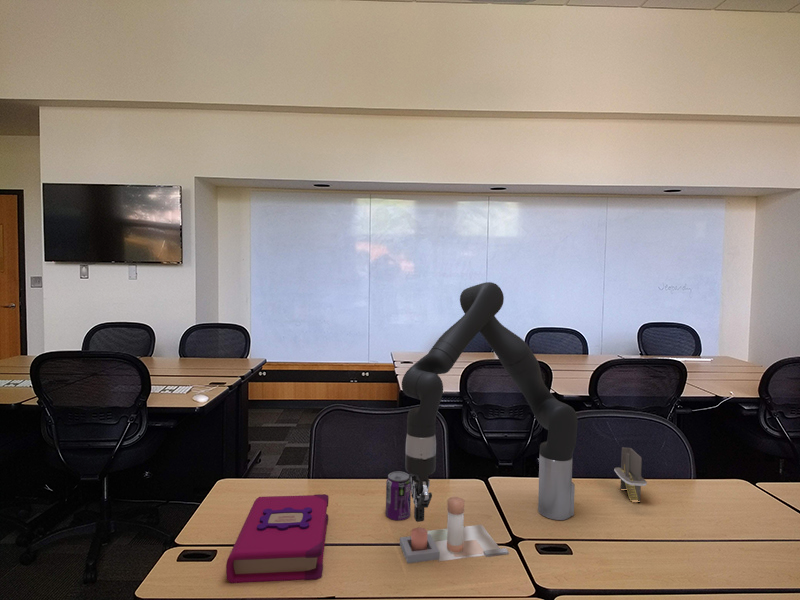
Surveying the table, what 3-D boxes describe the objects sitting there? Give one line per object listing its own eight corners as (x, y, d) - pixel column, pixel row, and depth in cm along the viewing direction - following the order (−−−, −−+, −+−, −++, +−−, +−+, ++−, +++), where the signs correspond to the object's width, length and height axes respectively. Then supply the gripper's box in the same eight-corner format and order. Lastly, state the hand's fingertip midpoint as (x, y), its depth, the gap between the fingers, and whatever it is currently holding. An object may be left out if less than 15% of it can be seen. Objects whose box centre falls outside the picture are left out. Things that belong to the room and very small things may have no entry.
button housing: (429, 543, 119) (429, 534, 119) (439, 561, 111) (439, 551, 111) (399, 547, 117) (399, 537, 117) (407, 566, 109) (407, 555, 109)
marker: (459, 543, 118) (460, 496, 117) (465, 553, 113) (466, 504, 113) (444, 545, 117) (445, 497, 116) (449, 555, 112) (450, 505, 112)
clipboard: (484, 524, 129) (484, 519, 129) (511, 557, 113) (511, 552, 113) (416, 532, 124) (416, 527, 124) (433, 567, 109) (434, 562, 108)
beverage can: (407, 524, 128) (408, 482, 128) (383, 521, 129) (383, 479, 129) (412, 512, 135) (412, 472, 135) (388, 509, 136) (389, 469, 136)
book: (226, 585, 102) (226, 552, 101) (253, 520, 130) (254, 494, 129) (321, 581, 104) (321, 548, 103) (328, 518, 132) (329, 492, 131)
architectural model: (610, 514, 136) (612, 466, 135) (585, 479, 161) (587, 437, 160) (680, 519, 134) (682, 470, 133) (644, 482, 159) (646, 440, 158)
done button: (424, 542, 116) (424, 526, 116) (429, 551, 112) (429, 535, 112) (409, 544, 115) (409, 528, 115) (413, 553, 111) (413, 537, 111)
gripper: (399, 443, 119) (398, 508, 119) (412, 462, 106) (411, 536, 106) (427, 441, 120) (426, 506, 121) (443, 460, 107) (441, 532, 108)
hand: (419, 520), depth 114 cm, fingers closed
